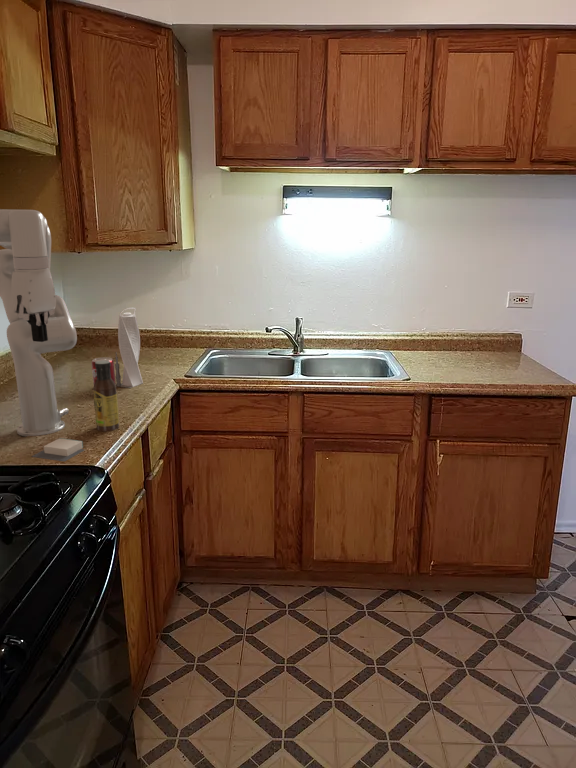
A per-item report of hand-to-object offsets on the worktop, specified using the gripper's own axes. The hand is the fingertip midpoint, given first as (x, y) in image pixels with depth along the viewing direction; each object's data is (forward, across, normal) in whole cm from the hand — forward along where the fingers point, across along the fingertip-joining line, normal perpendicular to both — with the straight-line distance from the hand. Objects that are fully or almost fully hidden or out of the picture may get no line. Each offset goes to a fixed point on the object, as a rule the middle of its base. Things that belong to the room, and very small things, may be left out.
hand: (40, 340), depth 141 cm
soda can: (+29, -49, -19) cm, 60 cm away
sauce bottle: (+29, -18, +4) cm, 34 cm away
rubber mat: (+29, +2, +4) cm, 29 cm away
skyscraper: (+30, -62, -17) cm, 71 cm away
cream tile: (+27, +3, +4) cm, 28 cm away
